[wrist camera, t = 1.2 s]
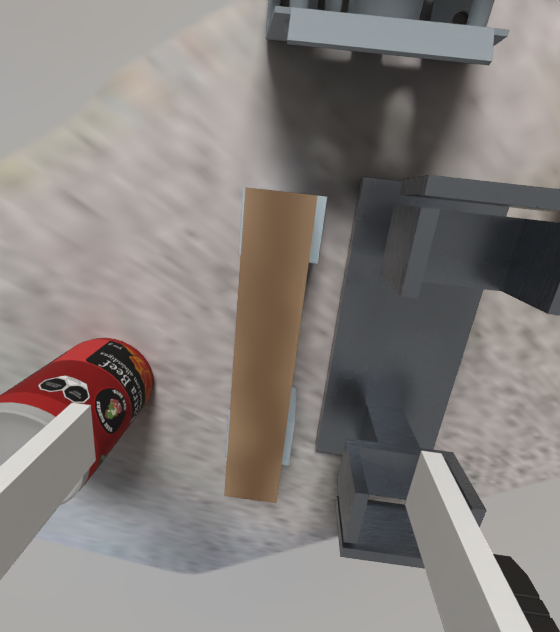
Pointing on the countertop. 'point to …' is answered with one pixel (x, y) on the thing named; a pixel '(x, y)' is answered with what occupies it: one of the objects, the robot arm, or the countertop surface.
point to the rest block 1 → (316, 229)
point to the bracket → (389, 28)
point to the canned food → (79, 397)
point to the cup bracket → (419, 335)
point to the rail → (266, 337)
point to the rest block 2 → (288, 429)
